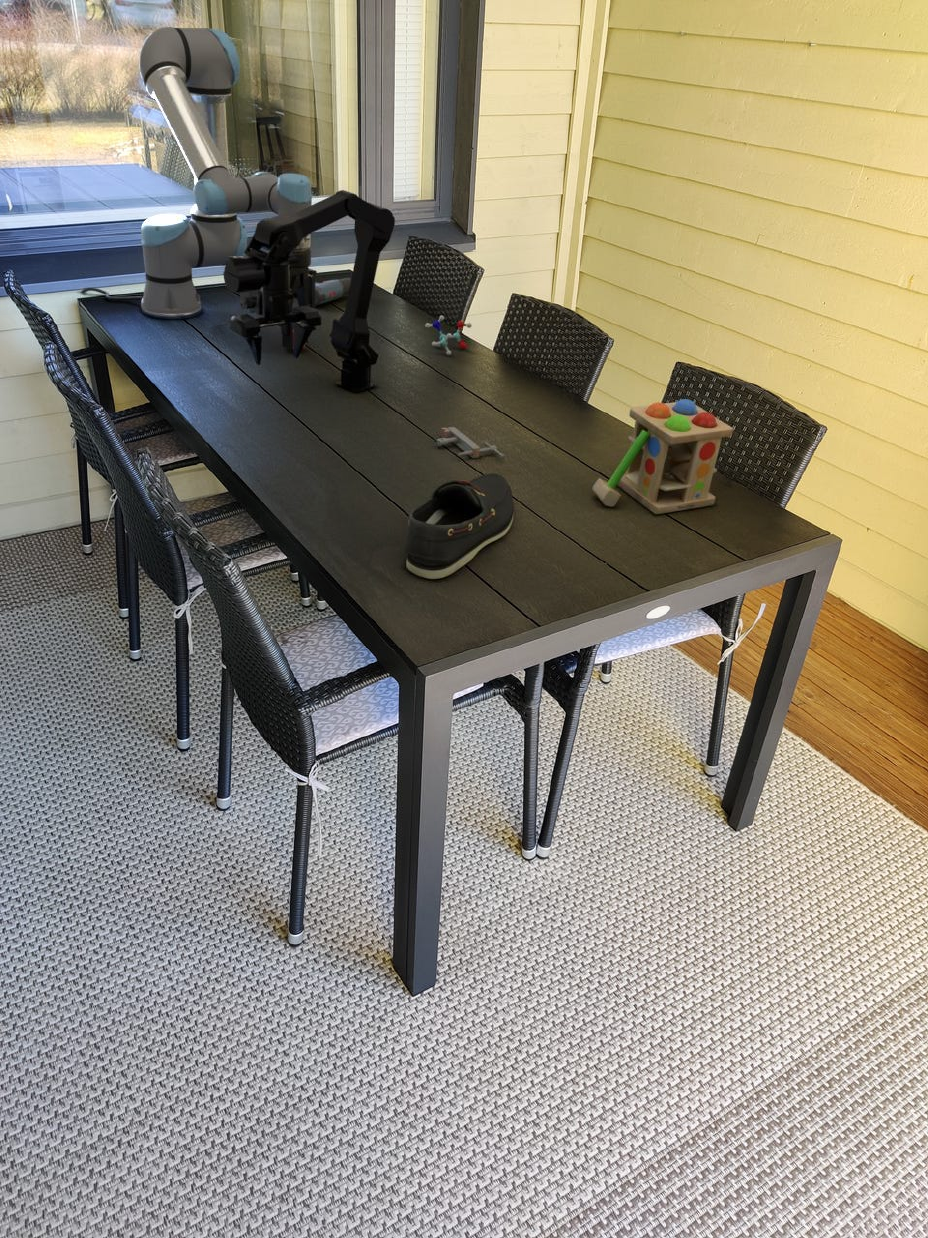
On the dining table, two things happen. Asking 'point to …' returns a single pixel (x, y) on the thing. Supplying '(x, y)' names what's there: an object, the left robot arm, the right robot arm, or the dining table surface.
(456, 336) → the molecular model
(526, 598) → the dining table surface
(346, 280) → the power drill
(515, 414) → the dining table surface
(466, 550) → the boat shoe
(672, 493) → the pounding bench toy
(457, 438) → the clamp
